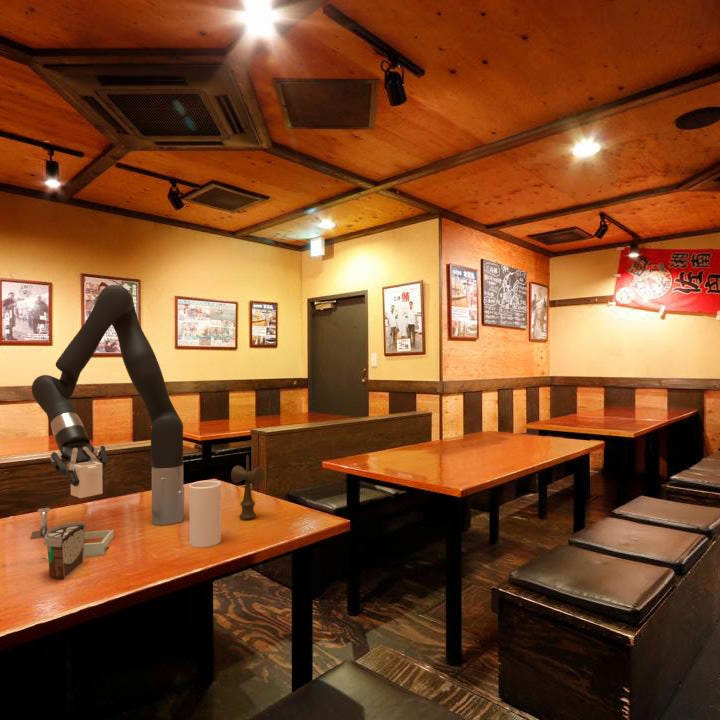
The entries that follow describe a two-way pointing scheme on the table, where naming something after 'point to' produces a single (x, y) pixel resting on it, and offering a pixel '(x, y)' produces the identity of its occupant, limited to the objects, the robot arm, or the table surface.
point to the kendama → (248, 487)
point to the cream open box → (88, 479)
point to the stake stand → (43, 525)
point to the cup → (205, 513)
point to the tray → (100, 547)
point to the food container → (65, 548)
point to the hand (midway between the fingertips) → (89, 482)
